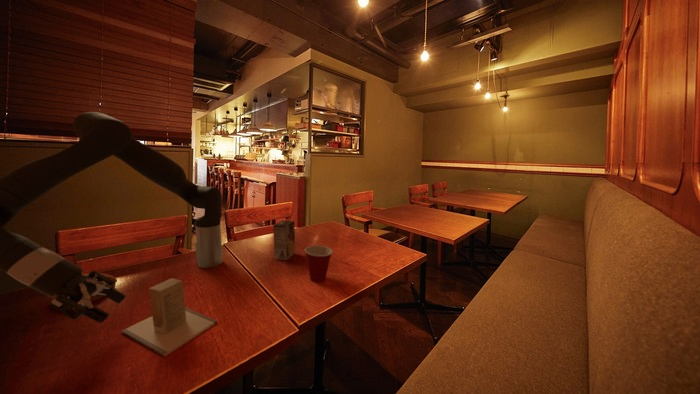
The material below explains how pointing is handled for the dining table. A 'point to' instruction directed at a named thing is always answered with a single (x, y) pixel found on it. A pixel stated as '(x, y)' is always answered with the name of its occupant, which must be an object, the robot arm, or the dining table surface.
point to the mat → (172, 339)
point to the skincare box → (167, 305)
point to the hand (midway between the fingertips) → (114, 308)
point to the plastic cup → (318, 262)
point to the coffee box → (284, 240)
